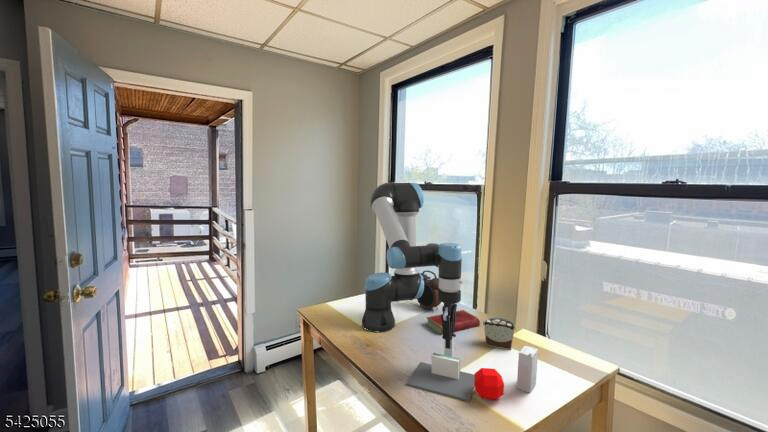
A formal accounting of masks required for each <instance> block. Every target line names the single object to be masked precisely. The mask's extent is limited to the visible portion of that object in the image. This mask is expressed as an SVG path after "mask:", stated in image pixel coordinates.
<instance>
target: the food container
mask: <svg viewBox="0 0 768 432" xmlns="http://www.w3.org/2000/svg"><path fill="white" fill-rule="evenodd" d="M482 326H484V337H485V346H489V347H493V348H499V349H504V350H510V351H511V350H512V346H513V339H514V333H515V332H514V331H517V329H516V325H515V323H514V322H513V321H511V319H508V318H504V317H498V316H497V317H495V316H492V317H488V318H485V319H484V320H483V323H482Z"/></svg>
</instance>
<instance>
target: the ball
mask: <svg viewBox="0 0 768 432" xmlns="http://www.w3.org/2000/svg"><path fill="white" fill-rule="evenodd" d="M474 375H475V378H474V385H475V387H474V389H475V393H476V394H477V395H478V396H479V397H480V399H482V400H486V401H487V400H489V401H497V400H499V399H500V398H501V397H502V396H504V395H505V394H504V392H505V382H504V378H503V376H502V375H501V374H500V373H499V372H498V370H496V369H495V368H491V367H490V368H488V367H487V368H486V367H481V368H480V369H479V370H477V371H475V373H474Z"/></svg>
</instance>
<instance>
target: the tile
mask: <svg viewBox="0 0 768 432" xmlns="http://www.w3.org/2000/svg"><path fill="white" fill-rule="evenodd" d="M460 363H461V359H460V358H458V357H454V356H453V357H450V356H446V355H444V354H440V353H435V352H433V353H432V355H431V364H432V373H434V374H438V375H442V376H446V377H450V378H454V379H459V376H460V371H461V370H460V369H461V364H460Z"/></svg>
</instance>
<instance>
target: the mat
mask: <svg viewBox="0 0 768 432" xmlns="http://www.w3.org/2000/svg"><path fill="white" fill-rule="evenodd" d="M416 366H417V367H416V368H415V370H413V372H412V374H411V375H410V377H409V379H407V381H406V384H405V385H406V386H409V387H411V388H412V387H414V388H416V389H419V390H424V391H427V392H431V393H435V394H438V395H442V396H446V397H449V398H453V399H457V400H460V401H465V402H469V403H470V401H471V400H472V396H473V393H474V389H475V385H474V378H475V373H470V372H466V371H461V370H460V376H459V379H454V378H450V377H446V376H442V375H438V374H434V373H432V363H431V364H430V363H426V362H422V361H420V362H419V364H418V365H416Z"/></svg>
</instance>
